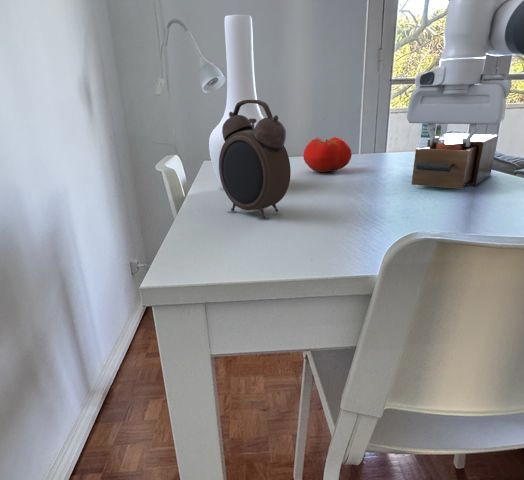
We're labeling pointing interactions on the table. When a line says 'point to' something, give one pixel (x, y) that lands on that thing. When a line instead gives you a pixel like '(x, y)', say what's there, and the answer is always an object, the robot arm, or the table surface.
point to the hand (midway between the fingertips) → (449, 146)
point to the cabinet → (484, 153)
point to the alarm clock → (254, 160)
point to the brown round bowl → (449, 145)
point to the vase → (236, 80)
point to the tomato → (327, 154)
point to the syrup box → (424, 134)
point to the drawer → (444, 166)
